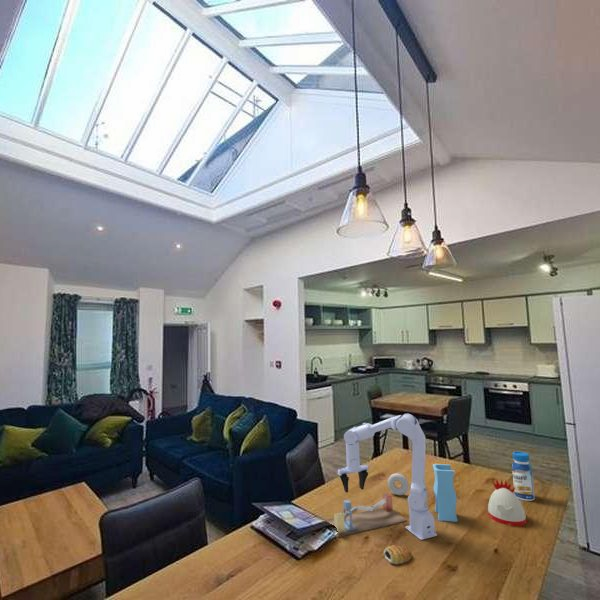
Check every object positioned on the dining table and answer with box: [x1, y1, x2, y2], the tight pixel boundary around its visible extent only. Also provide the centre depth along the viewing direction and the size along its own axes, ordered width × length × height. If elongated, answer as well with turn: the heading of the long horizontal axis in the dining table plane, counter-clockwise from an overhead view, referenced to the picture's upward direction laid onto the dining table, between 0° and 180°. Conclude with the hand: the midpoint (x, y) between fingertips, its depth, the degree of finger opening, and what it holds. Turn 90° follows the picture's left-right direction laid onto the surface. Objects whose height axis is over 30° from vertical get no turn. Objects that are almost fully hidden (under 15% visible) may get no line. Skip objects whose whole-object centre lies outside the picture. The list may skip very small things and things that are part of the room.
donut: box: [387, 472, 410, 496], centre depth 169 cm, size 10×4×10 cm, turn 68°
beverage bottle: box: [511, 451, 536, 502], centre depth 164 cm, size 8×8×20 cm
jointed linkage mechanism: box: [333, 492, 394, 535], centre depth 144 cm, size 5×32×6 cm, turn 123°
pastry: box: [383, 544, 413, 565], centre depth 120 cm, size 9×7×4 cm
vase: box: [432, 463, 458, 523], centre depth 148 cm, size 8×8×20 cm
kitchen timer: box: [487, 478, 527, 527], centre depth 146 cm, size 14×14×15 cm
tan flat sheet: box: [324, 507, 408, 539], centre depth 144 cm, size 13×32×1 cm, turn 110°
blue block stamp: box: [342, 499, 356, 531], centre depth 140 cm, size 4×6×10 cm, turn 20°
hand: (354, 490), depth 150 cm, fingers open, 7 cm apart
